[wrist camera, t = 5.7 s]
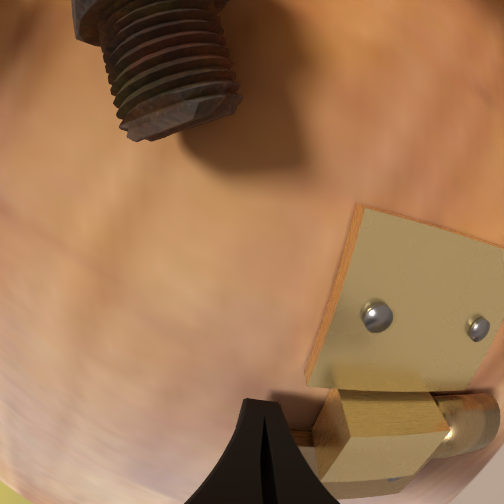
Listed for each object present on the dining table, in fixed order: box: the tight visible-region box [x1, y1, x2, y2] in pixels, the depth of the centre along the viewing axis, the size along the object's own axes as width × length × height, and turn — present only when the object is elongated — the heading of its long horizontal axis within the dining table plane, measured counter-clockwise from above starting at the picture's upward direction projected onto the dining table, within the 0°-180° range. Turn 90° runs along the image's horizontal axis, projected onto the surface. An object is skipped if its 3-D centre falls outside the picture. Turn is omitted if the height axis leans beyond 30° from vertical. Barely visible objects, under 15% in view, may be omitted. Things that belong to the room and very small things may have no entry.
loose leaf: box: [305, 203, 504, 482], centre depth 10 cm, size 10×8×3 cm
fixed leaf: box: [290, 393, 500, 499], centre depth 12 cm, size 9×12×3 cm
